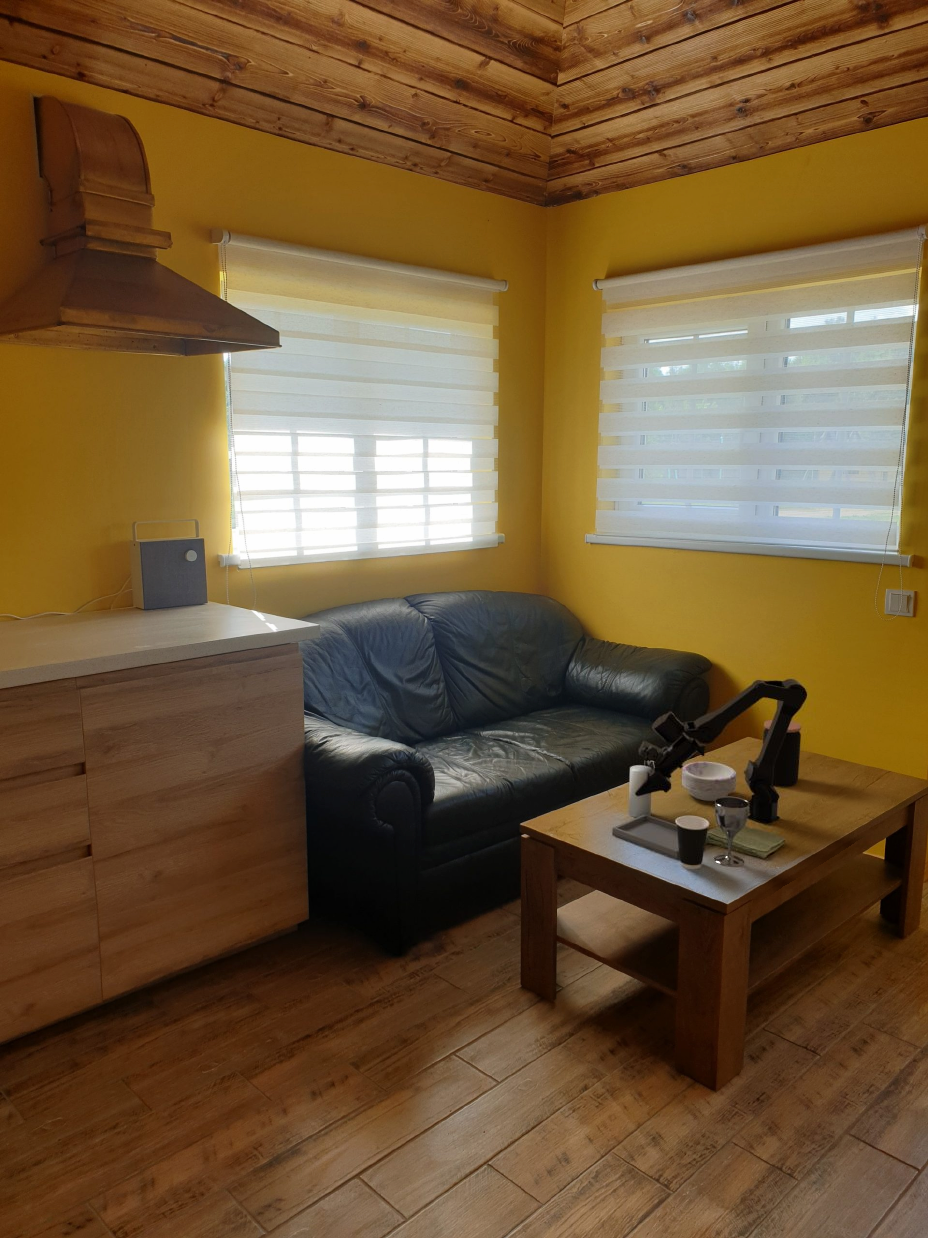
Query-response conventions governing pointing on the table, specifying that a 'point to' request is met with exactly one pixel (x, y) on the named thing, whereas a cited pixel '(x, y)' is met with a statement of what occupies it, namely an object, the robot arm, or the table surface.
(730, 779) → the paper bowls
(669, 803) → the table surface
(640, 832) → the tray
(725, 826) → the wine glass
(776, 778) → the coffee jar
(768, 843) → the washcloth
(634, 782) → the white cylinder
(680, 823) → the dixie cup
